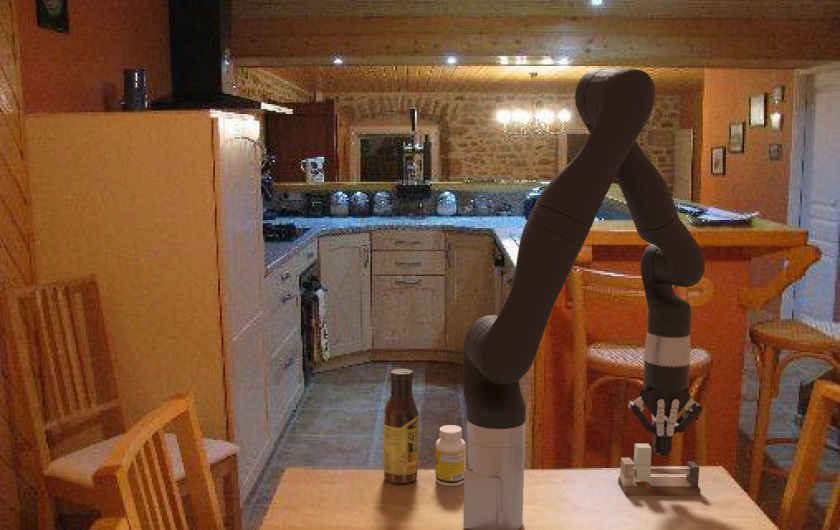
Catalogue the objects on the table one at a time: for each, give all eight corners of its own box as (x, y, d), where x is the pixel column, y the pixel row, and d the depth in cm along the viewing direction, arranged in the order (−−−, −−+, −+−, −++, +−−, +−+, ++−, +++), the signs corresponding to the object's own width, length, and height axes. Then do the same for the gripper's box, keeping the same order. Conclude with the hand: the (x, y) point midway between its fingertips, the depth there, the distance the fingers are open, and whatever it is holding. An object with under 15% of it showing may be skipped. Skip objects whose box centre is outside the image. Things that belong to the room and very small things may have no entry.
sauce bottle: (414, 487, 144) (414, 378, 141) (379, 483, 145) (379, 375, 142) (421, 472, 150) (422, 367, 147) (388, 469, 152) (388, 365, 149)
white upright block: (646, 474, 145) (647, 442, 144) (650, 480, 143) (652, 448, 142) (632, 474, 145) (634, 442, 144) (636, 480, 143) (638, 448, 142)
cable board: (690, 483, 147) (692, 455, 146) (700, 495, 142) (701, 466, 141) (618, 482, 147) (619, 455, 146) (625, 494, 142) (626, 466, 141)
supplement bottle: (440, 473, 150) (441, 421, 149) (468, 477, 149) (469, 425, 147) (431, 484, 145) (431, 431, 144) (460, 489, 144) (461, 435, 142)
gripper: (634, 364, 137) (629, 462, 140) (713, 364, 137) (707, 463, 140) (623, 352, 144) (618, 446, 147) (697, 353, 144) (692, 446, 147)
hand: (661, 454), depth 143 cm, fingers closed
